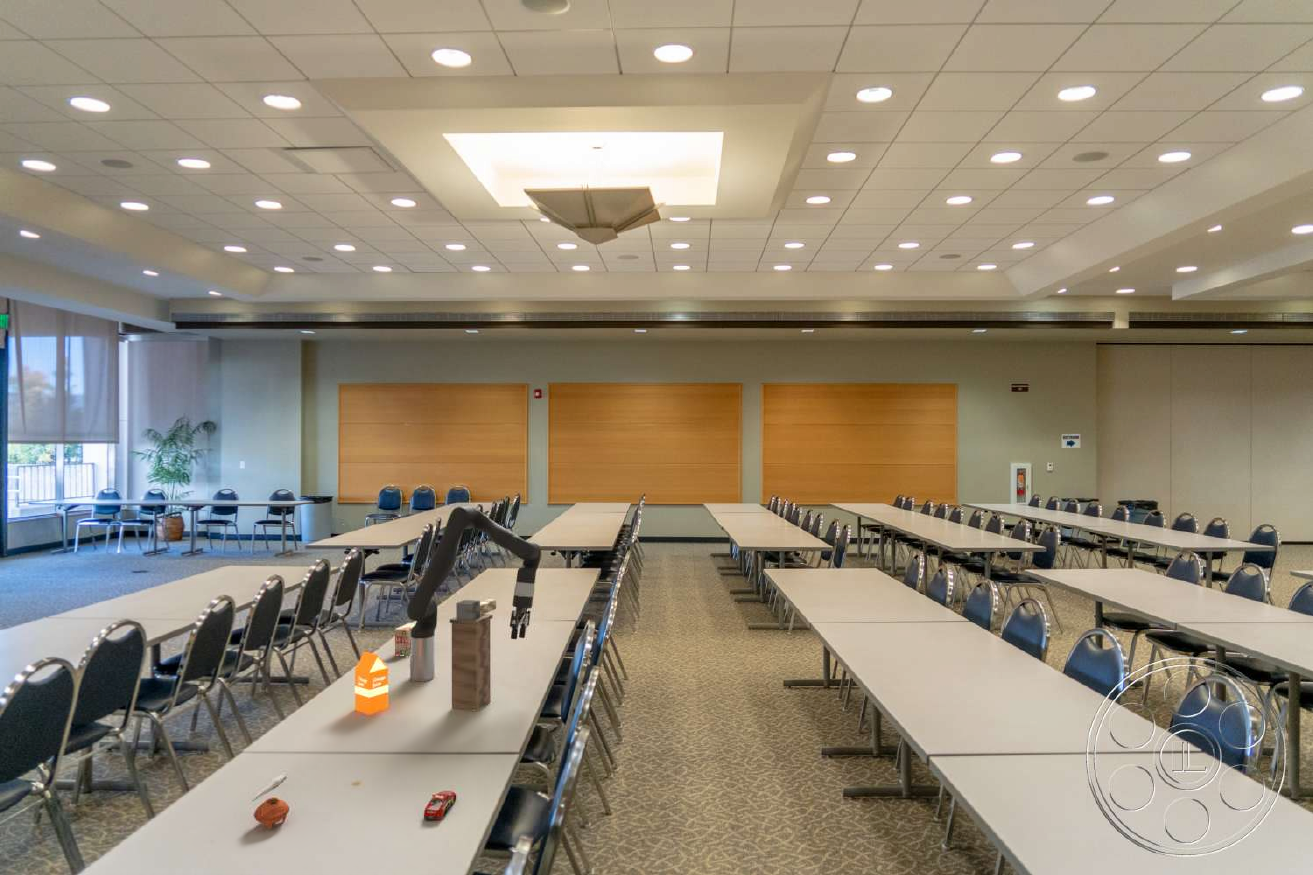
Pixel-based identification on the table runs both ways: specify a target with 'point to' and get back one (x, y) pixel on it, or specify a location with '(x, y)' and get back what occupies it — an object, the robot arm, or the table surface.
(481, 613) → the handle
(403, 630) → the red printed box
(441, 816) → the race car
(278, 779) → the white tapered stick
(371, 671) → the orange juice
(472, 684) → the pedestal
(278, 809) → the pot
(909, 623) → the table surface
